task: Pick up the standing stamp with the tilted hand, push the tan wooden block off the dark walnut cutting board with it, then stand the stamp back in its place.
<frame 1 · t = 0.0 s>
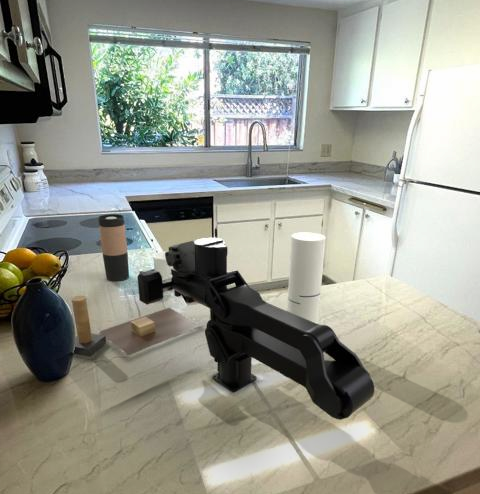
hand: (158, 268, 90), 17 cm above the countertop, tool horizontal, fingers open, 9 cm apart
travel mug: (118, 278, 131), on the countertop
tan wooden block: (143, 331, 95), point 1 cm above the countertop, touching cutting board
cylindrical container: (300, 340, 94), on the countertop
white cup: (168, 286, 125), on the countertop
cutting board: (151, 332, 97), on the countertop
stamp: (87, 352, 89), on the countertop
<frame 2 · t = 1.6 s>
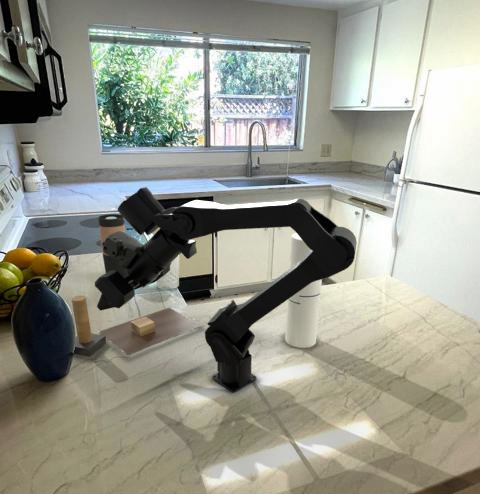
hand: (112, 299, 81), 14 cm above the countertop, tool tilted 45°, fingers open, 9 cm apart
nothing on the countertop moved.
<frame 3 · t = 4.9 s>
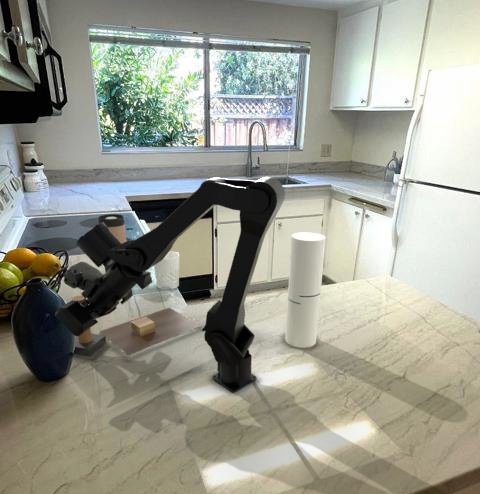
hand: (77, 324, 86), 7 cm above the countertop, tool tilted 45°, fingers closed on stamp, 3 cm apart
stamp: (87, 352, 89), on the countertop, touching gripper
everything else where it was.
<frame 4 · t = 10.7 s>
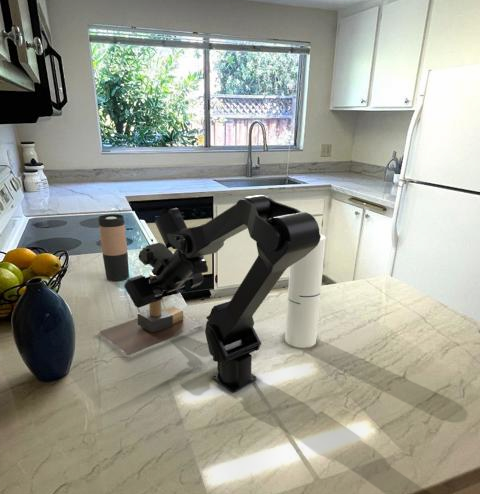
hand: (151, 298, 96), 8 cm above the countertop, tool tilted 45°, fingers closed on stamp, 3 cm apart
tan wooden block: (172, 319, 101), point 1 cm above the countertop
stamp: (155, 325, 97), point 2 cm above the countertop, tilted 6°, touching gripper
everything else where it was.
when the fingers open (7 cm above the countertop, at t = 18.7 s): stamp stays where it is, on the countertop.
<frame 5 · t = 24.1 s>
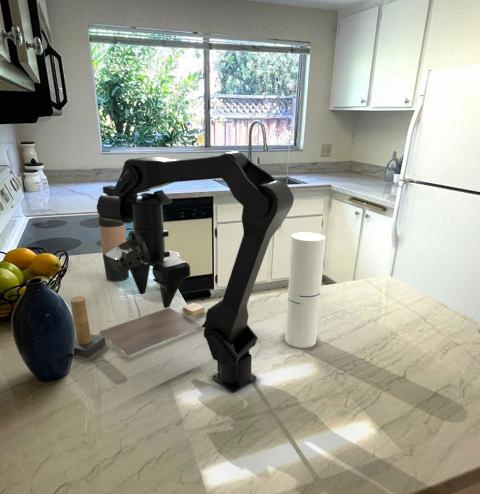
hand: (154, 300, 83), 13 cm above the countertop, tool pointing down, fingers open, 9 cm apart
tan wooden block: (193, 315, 106), on the countertop
stamp: (86, 353, 88), on the countertop
everything else where it was.
at the end: tan wooden block touching countertop; tan wooden block moved 15.4 cm from its start; stamp tilted 0° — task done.
